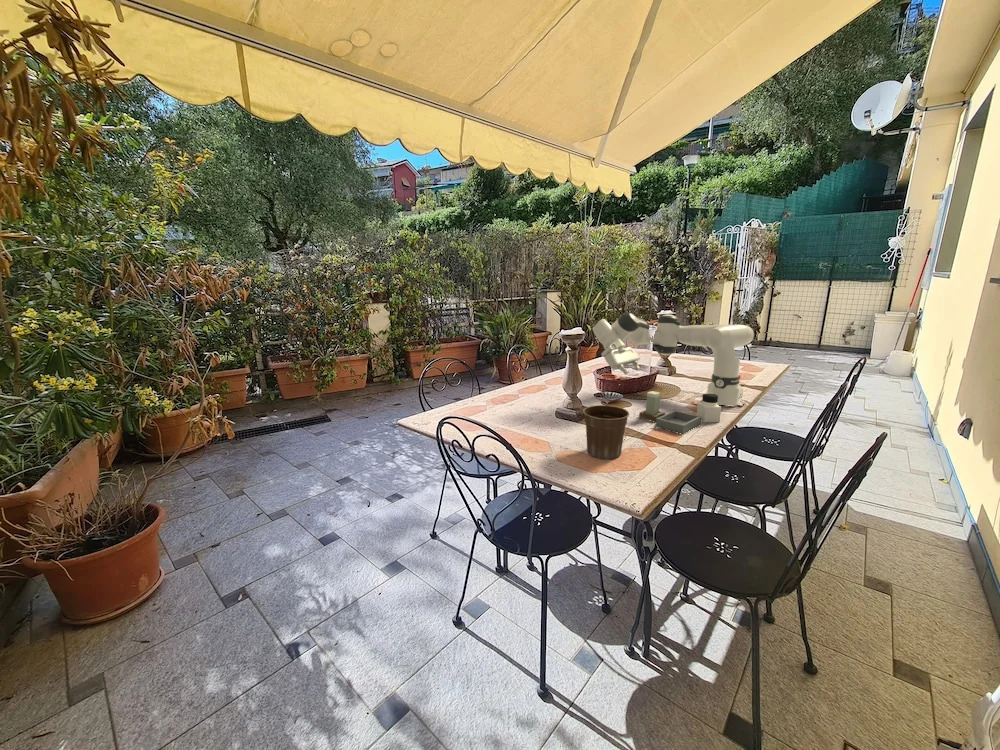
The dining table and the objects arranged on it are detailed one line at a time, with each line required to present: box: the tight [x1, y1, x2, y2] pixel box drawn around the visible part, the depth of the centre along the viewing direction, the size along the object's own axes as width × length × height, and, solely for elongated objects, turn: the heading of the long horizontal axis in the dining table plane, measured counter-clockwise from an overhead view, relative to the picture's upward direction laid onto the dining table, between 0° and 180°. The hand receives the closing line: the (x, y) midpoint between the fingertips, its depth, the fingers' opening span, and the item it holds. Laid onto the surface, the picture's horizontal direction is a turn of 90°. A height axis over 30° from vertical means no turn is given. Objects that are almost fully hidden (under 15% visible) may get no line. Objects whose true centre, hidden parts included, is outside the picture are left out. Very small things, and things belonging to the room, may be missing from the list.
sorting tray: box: [655, 409, 702, 435], centre depth 177 cm, size 16×12×4 cm
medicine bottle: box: [696, 392, 722, 423], centre depth 183 cm, size 7×7×12 cm
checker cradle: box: [638, 409, 666, 423], centre depth 188 cm, size 8×8×3 cm
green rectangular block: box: [645, 390, 661, 416], centre depth 187 cm, size 4×4×12 cm
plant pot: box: [582, 404, 630, 460], centre depth 151 cm, size 16×16×16 cm
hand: (632, 371), depth 192 cm, fingers open, 8 cm apart
